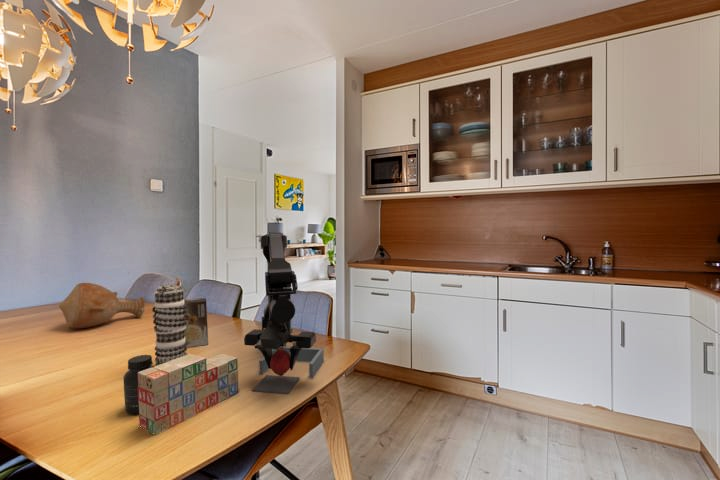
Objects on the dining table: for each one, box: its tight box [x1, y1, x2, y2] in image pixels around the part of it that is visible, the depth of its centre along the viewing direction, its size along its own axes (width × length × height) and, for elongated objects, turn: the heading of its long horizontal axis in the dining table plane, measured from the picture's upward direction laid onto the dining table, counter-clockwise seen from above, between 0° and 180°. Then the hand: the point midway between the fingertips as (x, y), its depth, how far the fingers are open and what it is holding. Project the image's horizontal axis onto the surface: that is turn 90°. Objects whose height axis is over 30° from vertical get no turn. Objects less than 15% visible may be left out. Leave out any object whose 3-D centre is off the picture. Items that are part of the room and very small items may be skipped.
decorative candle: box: [151, 284, 188, 367], centre depth 105 cm, size 9×9×25 cm
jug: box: [58, 282, 146, 329], centre depth 152 cm, size 20×19×30 cm
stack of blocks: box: [138, 353, 239, 436], centre depth 82 cm, size 21×6×12 cm, turn 149°
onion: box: [270, 346, 291, 376], centre depth 95 cm, size 6×6×8 cm
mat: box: [251, 374, 301, 395], centre depth 94 cm, size 10×9×1 cm
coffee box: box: [184, 297, 209, 349], centre depth 126 cm, size 9×6×16 cm
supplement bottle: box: [123, 354, 155, 416], centre depth 82 cm, size 7×7×12 cm
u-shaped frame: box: [258, 346, 325, 379], centre depth 105 cm, size 16×12×4 cm
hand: (280, 369), depth 96 cm, fingers closed on onion, 6 cm apart
